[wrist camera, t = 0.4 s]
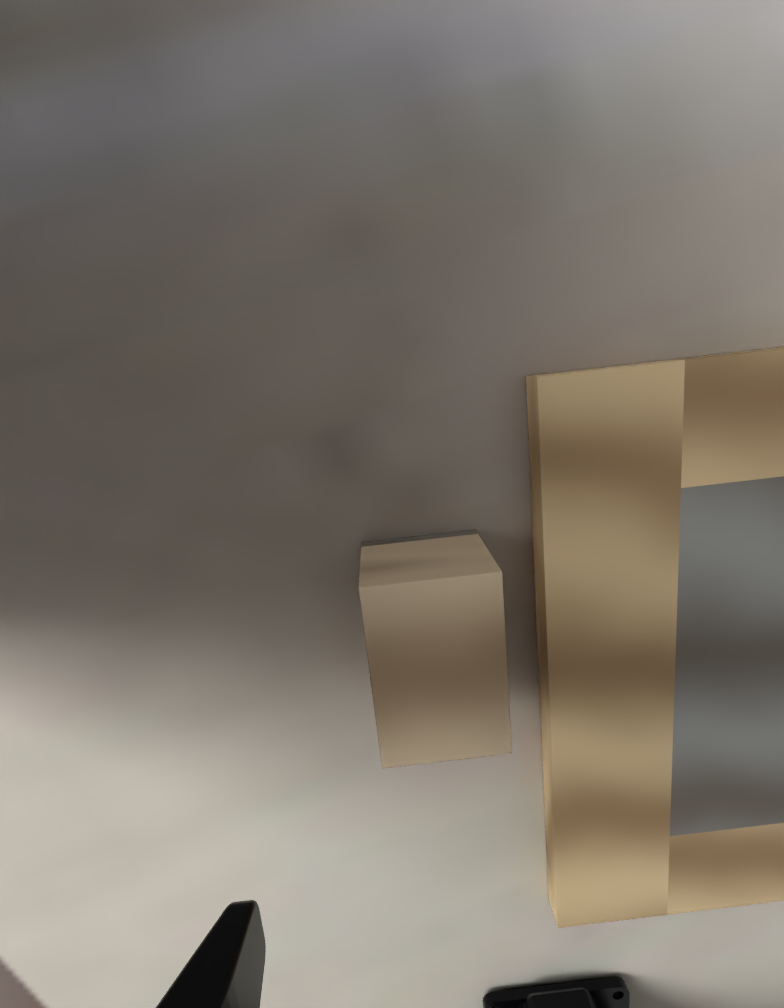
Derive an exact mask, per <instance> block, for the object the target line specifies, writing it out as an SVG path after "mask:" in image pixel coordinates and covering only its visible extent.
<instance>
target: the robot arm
mask: <svg viewBox="0 0 784 1008" xmlns="http://www.w3.org/2000/svg"><path fill="white" fill-rule="evenodd" d="M264 964H265V937H264V932H263V927H262V921H261V916H260V911H259V906H258V904H257V902H256V901H254V900H249V901H239V902H233V903H231V904H230V905H228V906H227V907H226V909H225V910H224V912H223V913H222V914H221V916H220V917H219V919H218V920H217V922H216V923H215V924H214V926H213V927H212V929H211V930H210V931H209V933H208V934H207V936H206V937H205V939H204V940H203V941H202V943H201V944H200V946H199V947H198V949H197V950H196V951H195V953H194V954H193V956H192V957H191V958H190V960H189V961H188V963H187V964H186V966H185V967H184V968H183V970H182V971H181V973H180V974H179V976H178V977H177V978H176V980H175V981H174V983H173V984H172V985H171V987H170V988H169V990H168V991H167V993H166V994H165V995H164V997H163V998H162V1000H161V1001H160V1003H159V1004H158V1005H157V1007H156V1008H259V1007H260V999H261V990H262V981H263V973H264ZM483 1008H629V991H628V989H627V986H626V984H625V982H624V980H623V979H622V978H619V977H611V978H603V979H594V980H586V981H578V982H570V983H561V984H553V985H545V986H537V987H528V988H520V989H512V990H504V991H495V992H490V993H488V994H486V995H485V996H484V998H483Z"/></svg>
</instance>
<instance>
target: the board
mask: <svg viewBox="0 0 784 1008" xmlns="http://www.w3.org/2000/svg"><path fill="white" fill-rule="evenodd" d="M526 389H527V412H528V435H529V458H530V481H531V504H532V528H533V551H534V574H535V597H536V620H537V643H538V666H539V689H540V712H541V735H542V759H543V782H544V805H545V828H546V851H547V874H548V897H549V902H550V905H551V908H552V911H553V914H554V917H555V920H556V923H557V926H558V928H561V927H569V926H577V925H586V924H594V923H602V922H610V921H619V920H627V919H635V918H644V917H652V916H660V915H668V914H677V913H685V912H693V911H702V910H710V909H718V908H726V907H735V906H743V905H751V904H760V903H768V902H776V901H784V347H777V348H768V349H759V350H750V351H742V352H733V353H724V354H715V355H707V356H698V357H689V358H680V359H672V360H663V361H654V362H645V363H636V364H628V365H619V366H610V367H601V368H593V369H584V370H575V371H566V372H558V373H549V374H540V375H531V376H526Z"/></svg>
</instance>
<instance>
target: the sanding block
mask: <svg viewBox="0 0 784 1008" xmlns="http://www.w3.org/2000/svg"><path fill="white" fill-rule="evenodd" d="M359 595H360V603H361V611H362V618H363V626H364V633H365V641H366V649H367V656H368V664H369V671H370V679H371V687H372V694H373V702H374V709H375V717H376V724H377V732H378V740H379V747H380V755H381V762H382V768H390V767H398V766H407V765H416V764H424V763H433V762H442V761H450V760H459V759H468V758H476V757H485V756H494V755H502V754H511V753H512V743H511V725H510V707H509V688H508V670H507V651H506V633H505V615H504V596H503V578H502V571H501V569H500V568H499V566H498V564H497V563H496V561H495V560H494V558H493V556H492V555H491V553H490V552H489V550H488V549H487V547H486V545H485V544H484V542H483V541H482V539H481V538H480V536H479V534H478V533H477V531H476V530H467V531H458V532H449V533H440V534H431V535H422V536H413V537H404V538H395V539H386V540H377V541H368V542H361V556H360V572H359Z"/></svg>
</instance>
